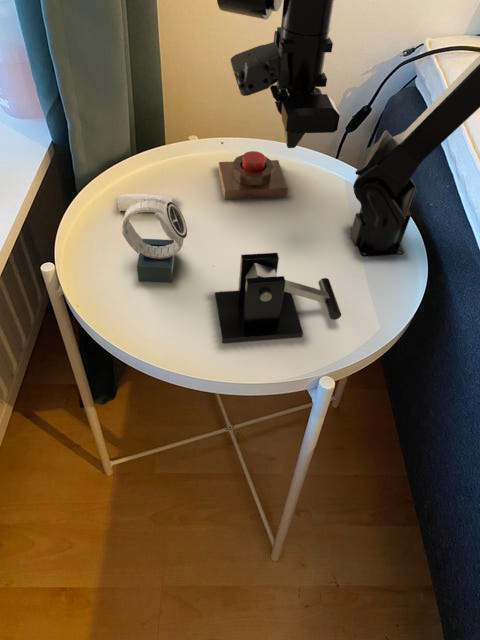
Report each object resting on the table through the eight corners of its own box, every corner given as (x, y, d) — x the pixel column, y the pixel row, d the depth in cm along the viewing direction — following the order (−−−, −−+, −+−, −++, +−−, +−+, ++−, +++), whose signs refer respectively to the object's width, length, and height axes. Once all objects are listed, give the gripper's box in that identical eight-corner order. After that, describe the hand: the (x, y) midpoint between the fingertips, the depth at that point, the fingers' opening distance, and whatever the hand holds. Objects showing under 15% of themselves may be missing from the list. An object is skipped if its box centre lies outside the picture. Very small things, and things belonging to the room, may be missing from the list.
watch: (186, 285, 73) (184, 219, 65) (125, 283, 73) (116, 216, 65) (189, 257, 77) (187, 191, 69) (131, 254, 77) (123, 188, 68)
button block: (277, 168, 93) (279, 150, 90) (286, 197, 87) (289, 178, 85) (218, 170, 91) (219, 152, 89) (224, 199, 86) (225, 180, 83)
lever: (323, 289, 72) (333, 276, 71) (334, 323, 68) (346, 311, 67) (242, 265, 67) (252, 251, 65) (250, 301, 63) (260, 287, 61)
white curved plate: (122, 198, 85) (120, 182, 83) (174, 201, 85) (173, 184, 83) (119, 213, 82) (116, 197, 80) (172, 215, 83) (171, 199, 80)
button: (262, 160, 88) (263, 150, 87) (266, 173, 86) (267, 163, 85) (240, 161, 88) (241, 151, 87) (243, 174, 86) (244, 164, 84)
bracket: (288, 293, 73) (297, 242, 67) (301, 339, 68) (312, 289, 61) (214, 298, 72) (215, 247, 65) (221, 345, 67) (224, 295, 60)
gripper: (227, -3, 69) (225, 114, 81) (248, 61, 57) (241, 188, 69) (314, -3, 70) (299, 112, 82) (352, 60, 58) (328, 185, 70)
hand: (290, 146), depth 76 cm, fingers closed
